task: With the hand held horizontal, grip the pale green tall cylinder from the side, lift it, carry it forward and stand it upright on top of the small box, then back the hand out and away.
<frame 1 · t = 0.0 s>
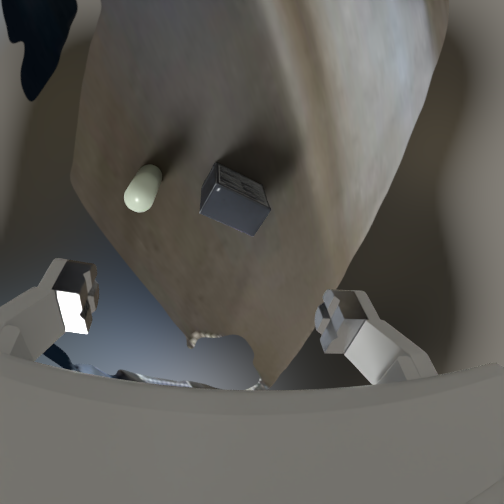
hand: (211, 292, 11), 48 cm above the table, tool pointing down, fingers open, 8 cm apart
small box: (231, 186, 59), on the table
pale green tall cylinder: (149, 176, 56), on the table
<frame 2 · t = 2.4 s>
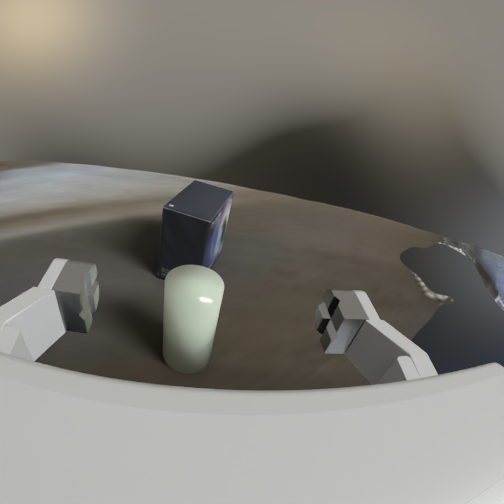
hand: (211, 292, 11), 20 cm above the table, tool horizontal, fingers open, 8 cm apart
small box: (191, 265, 44), on the table
pale green tall cylinder: (186, 354, 31), on the table
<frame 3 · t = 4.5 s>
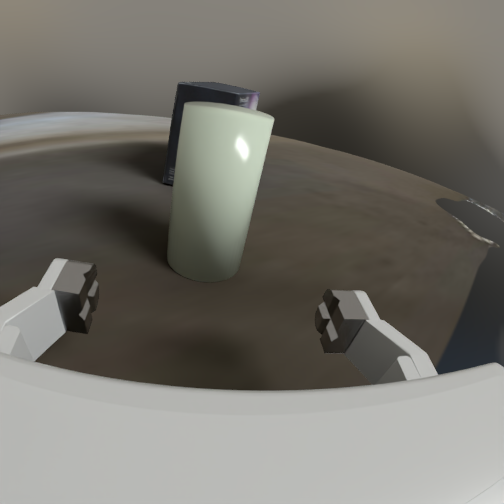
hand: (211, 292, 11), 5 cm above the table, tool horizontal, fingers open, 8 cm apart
small box: (206, 178, 34), on the table
pale green tall cylinder: (203, 258, 21), on the table
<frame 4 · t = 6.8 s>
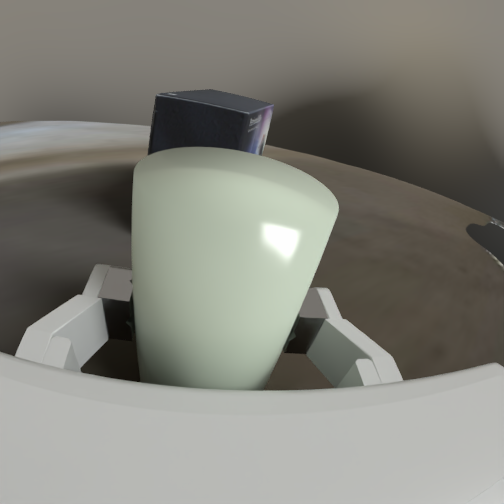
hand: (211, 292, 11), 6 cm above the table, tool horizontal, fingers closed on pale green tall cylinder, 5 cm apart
small box: (202, 223, 26), on the table
pale green tall cylinder: (198, 395, 13), on the table, touching gripper
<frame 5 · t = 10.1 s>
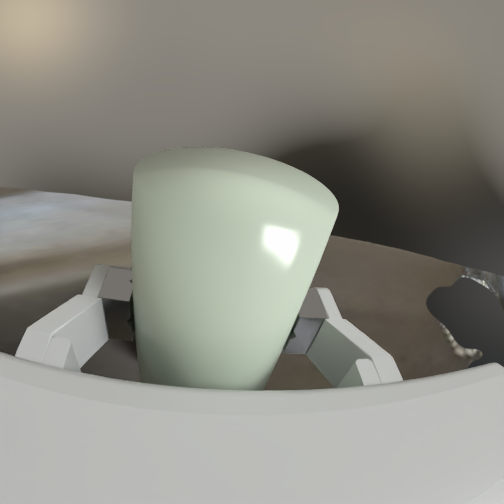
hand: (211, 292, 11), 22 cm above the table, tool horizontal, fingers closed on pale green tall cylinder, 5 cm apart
pale green tall cylinder: (198, 395, 13), point 16 cm above the table, touching gripper
when the fingers open (16 cm above the table, at t = 13.6 s): pale green tall cylinder stays where it is, resting on small box.
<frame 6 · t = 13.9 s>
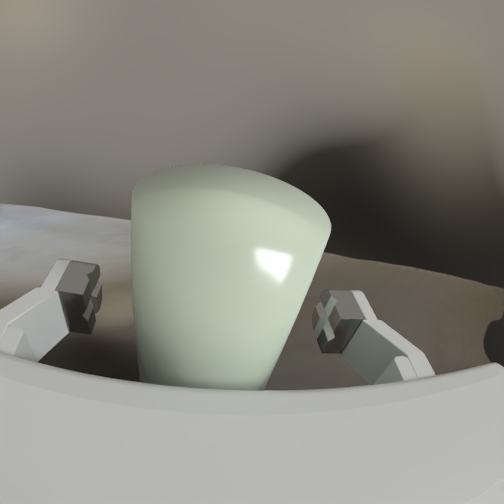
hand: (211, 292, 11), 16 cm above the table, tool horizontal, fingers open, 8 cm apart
pale green tall cylinder: (197, 401, 13), point 10 cm above the table, touching small box
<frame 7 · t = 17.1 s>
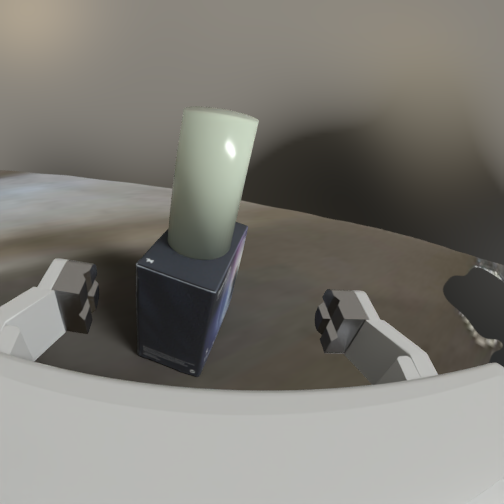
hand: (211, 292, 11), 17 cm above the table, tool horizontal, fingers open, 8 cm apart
small box: (187, 330, 30), on the table, touching pale green tall cylinder
pale green tall cylinder: (199, 240, 24), point 10 cm above the table, touching small box
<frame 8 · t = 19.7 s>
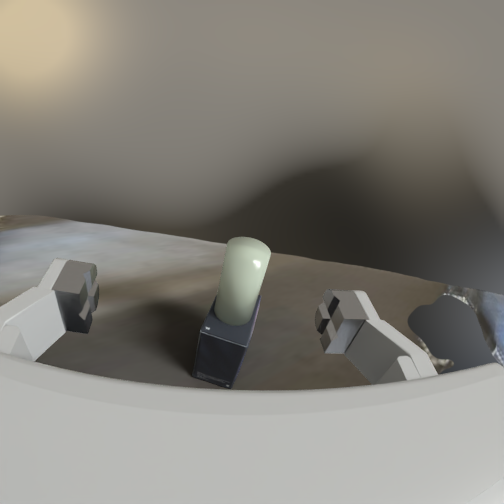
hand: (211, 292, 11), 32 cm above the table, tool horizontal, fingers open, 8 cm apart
small box: (221, 359, 46), on the table, touching pale green tall cylinder
pale green tall cylinder: (233, 311, 41), point 10 cm above the table, touching small box
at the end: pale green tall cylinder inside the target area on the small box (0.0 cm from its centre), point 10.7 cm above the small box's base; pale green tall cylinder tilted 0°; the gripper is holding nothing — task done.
